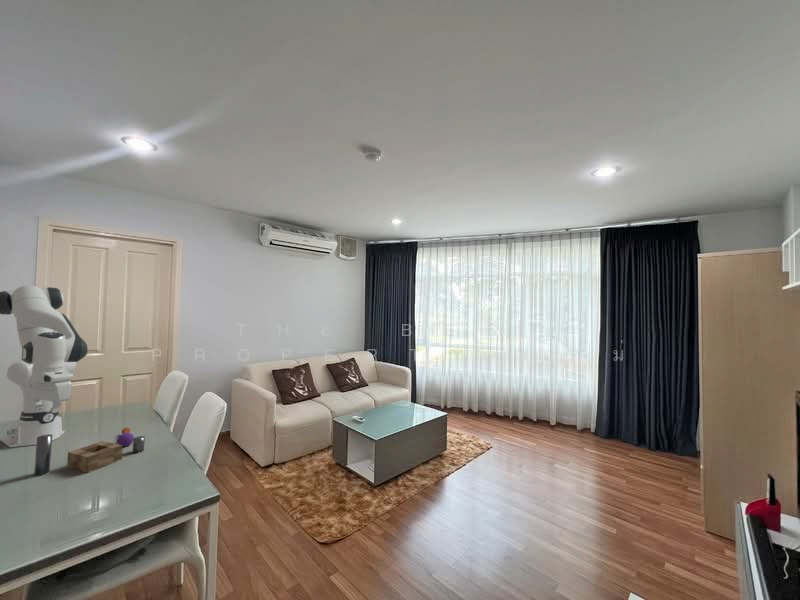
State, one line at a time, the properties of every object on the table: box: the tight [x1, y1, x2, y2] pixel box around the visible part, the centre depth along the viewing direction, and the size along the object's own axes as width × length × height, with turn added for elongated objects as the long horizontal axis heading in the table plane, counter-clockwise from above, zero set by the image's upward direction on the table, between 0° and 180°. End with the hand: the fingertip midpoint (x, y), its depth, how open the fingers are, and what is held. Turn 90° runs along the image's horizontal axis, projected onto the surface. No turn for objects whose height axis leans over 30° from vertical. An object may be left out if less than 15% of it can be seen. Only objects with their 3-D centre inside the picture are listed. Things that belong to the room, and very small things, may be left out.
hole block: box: [66, 440, 124, 473], centre depth 133 cm, size 12×12×6 cm
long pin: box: [33, 434, 53, 476], centre depth 124 cm, size 4×4×14 cm
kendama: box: [116, 427, 135, 448], centre depth 156 cm, size 6×6×20 cm
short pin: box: [132, 435, 146, 454], centre depth 146 cm, size 4×4×6 cm
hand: (46, 410), depth 125 cm, fingers open, 8 cm apart
